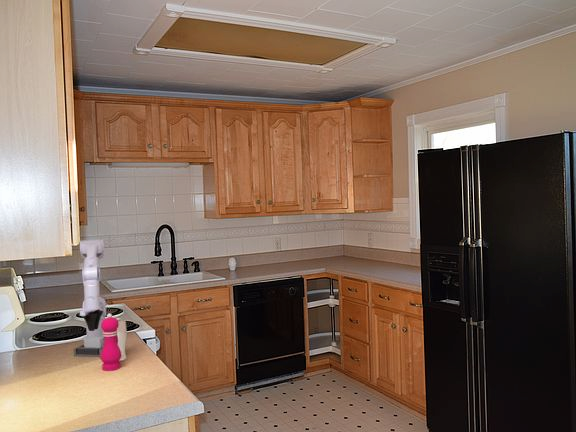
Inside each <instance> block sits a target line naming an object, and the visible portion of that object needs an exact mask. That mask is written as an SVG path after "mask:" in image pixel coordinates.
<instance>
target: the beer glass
mask: <svg viewBox="0 0 576 432" xmlns="http://www.w3.org/2000/svg"><path fill="white" fill-rule="evenodd" d="M116 319H117V320H118V323H119V326H118V328H117V329H116V330H117V335H116V340H117V344H118V346H119V348H120V351H121V355H122V356H121V359H120V360H119V362H122V361H125V360H126V359H127V355H126V342H127V330H128V329H127V322H126V319H125V318H116Z"/></svg>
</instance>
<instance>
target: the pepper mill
mask: <svg viewBox="0 0 576 432" xmlns="http://www.w3.org/2000/svg"><path fill="white" fill-rule="evenodd" d="M105 318H106V319H104V320H103V321H102V323H101V328H102V330H103V331H104V332H103V336H104V338H103V343H104V346H103V349H102V352H101V356H100V357H99V358H100V360H101V362H102V365H101V368H102V371H105V372H111V371H117V370H119V369H120V368H121V361H119V360H120V359H121V356H122V355H121V351H120V348H119V346H118V344H117V340H116V335H117V330H116V329H117V328H118V326H119V323H118V320H117V319H118V318H115V317H113V314H112V313H111V312H110V313H107V314H106V317H105Z"/></svg>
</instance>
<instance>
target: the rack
mask: <svg viewBox="0 0 576 432" xmlns="http://www.w3.org/2000/svg"><path fill="white" fill-rule="evenodd" d="M102 349H103V348H89V347H84V343H83V344H80V345H78V346H77V347H74V348H73V356H74V357H84V358H85V357H89V358H100V356H101V352H102Z"/></svg>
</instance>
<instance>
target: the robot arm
mask: <svg viewBox="0 0 576 432" xmlns="http://www.w3.org/2000/svg"><path fill="white" fill-rule="evenodd" d="M104 242H105V241H104V240H103V239H93V240H92V239H91V240H90V239H88V240H84V239H83V240H80V241H79V252H80V258H81V259H82V260H83V268H82V271H81V274H82V275H81V276H82V282H83V292H84V299H83V302H82V308H81V310H80V311H79V317H80V316H81V317H82V318H83V320H84V321H85V325H86V326H85V327H86V337H103V339H104V336H103V332H104V331H103V330H102V328H101V323H102V321H103V320H104V319H106V318H107V304H106V303H107V302H106V300H105V298H103V297H101V294H100V280H101V267H100V262H99V261H100V260H101V259H103V258H104V255H105V254H104V252H105V246H104ZM82 341H84V338H82Z"/></svg>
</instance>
